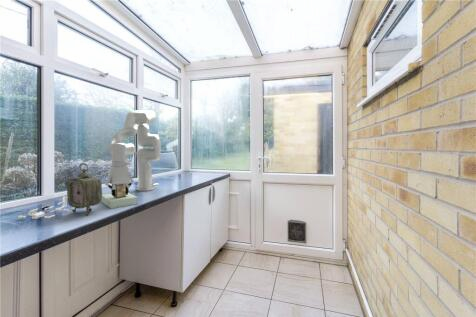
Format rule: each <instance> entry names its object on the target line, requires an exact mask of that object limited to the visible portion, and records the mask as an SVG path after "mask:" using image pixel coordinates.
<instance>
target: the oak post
mask: <svg viewBox="0 0 476 317" xmlns="http://www.w3.org/2000/svg"><path fill="white" fill-rule="evenodd" d="M114 189H115V198H116V199H117V198H124V197H126V186H125V184H117V185H116V186H115V188H114Z"/></svg>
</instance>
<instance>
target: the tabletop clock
mask: <svg viewBox="0 0 476 317" xmlns="http://www.w3.org/2000/svg"><path fill="white" fill-rule="evenodd" d="M82 165H84V166H85V167H86V168H82V169H81V166H82ZM78 169H79V171H81V172H80V173H78V175H77V177H74V178H69V179H67V186H66V191H67V192H66V196H67V204H68V205H69V206H70V207H71V208H72V207H74V208H75V209H71V212H72V213H76V212H77V209H84V208H85V210H86V211H85V213H84V214H85V216H88V215H89V214H90V213H91V212H92V211H93V209H92V208H91V207H93V206H98V205H100V203H102V202H101V201H102V195H103V188H102V181H101V179H99V178H97V177H93V176H91V175H90V173H89V172H88V170H89V165H88V164H87V163H84V162H82V163H80V164H79V168H78ZM89 212H90V213H89Z"/></svg>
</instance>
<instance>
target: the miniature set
mask: <svg viewBox="0 0 476 317" xmlns="http://www.w3.org/2000/svg"><path fill="white" fill-rule="evenodd" d="M61 204H62V205H61ZM57 205H58V206H60V205H61V206H60V207H56V208H55V209H53V210H52V211H50V213H51V212H55V211H56V212H63V211H66V212H70V211H72V210H73V209H75V207H72V206H71V208H70V209H66V208H67V207H68V196H67V195H66V196H65V195H63V196H62V201H61V202H58V203H57ZM51 208H54V205H52V206H50V205H46V206H44V207H43V206H42V207H41V211H38V210H39V208H35V209H32V210H30V211H29V212H28V213H27V215H28V216H29V217H31V219H32V220H37V219H40V218H43V219H51V218H53V217H56V214H53V215H50V216H47V215H46V213H45V212H44V211H49V210H50V209H51ZM37 211H38V212H37ZM17 218H18V219H21V218H23V219H26V215H18V216H17Z"/></svg>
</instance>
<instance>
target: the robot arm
mask: <svg viewBox="0 0 476 317" xmlns="http://www.w3.org/2000/svg"><path fill="white" fill-rule="evenodd" d="M155 121H156V113H155V111H154V110H139V109H138V110H131V111H129V112H127V114H126V118H125V121H124V123H123V127H122V128H120V130H118V131H117V132H116V133H114V135H113V136H112V137H111V138H110V139H111V140H110V142H109V145H108V151H109V153H110V154H111V166H110V168H109V176H108V177H109V178H108V179H107V180H106V181H105V183H104V186H106V187H108V188H109V189H110V191H111V194H112V195H113V196H114V197H115V186H116V185H119V184H124V185H125V187H126V195H128V193H129V194H130V192H129V190H130V187H131V186H132V184H134V182H135V180H134V179H132V178H131V176H130V170H129V166H128V165H130V162H129V161H127V156H131V155H134V154H135V153H136V159H137V167H138V168H137V169H138V171H137V172H138V175H137V176H138V187H136V191H137V192H138V191H139V192H145V191H146V192H147V191H153V190H155V187H159V183H153V168H152V164H151V163H150V162H154V161H155V162H156V161H160V160H161V158H162V145H161V138H160V136H159V134H156V133H150V127H149V124H153V123H155ZM135 135H137V143H138V146H140V147H143V148H139V149H137V151H136V146H135V144H133V143H132V142H122V141H124V140H126V139H128V138H131V137H133V136H135ZM145 147H146V148H145ZM147 147H148V148H147ZM151 147H152V148H151ZM110 184H111V185H110Z"/></svg>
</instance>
